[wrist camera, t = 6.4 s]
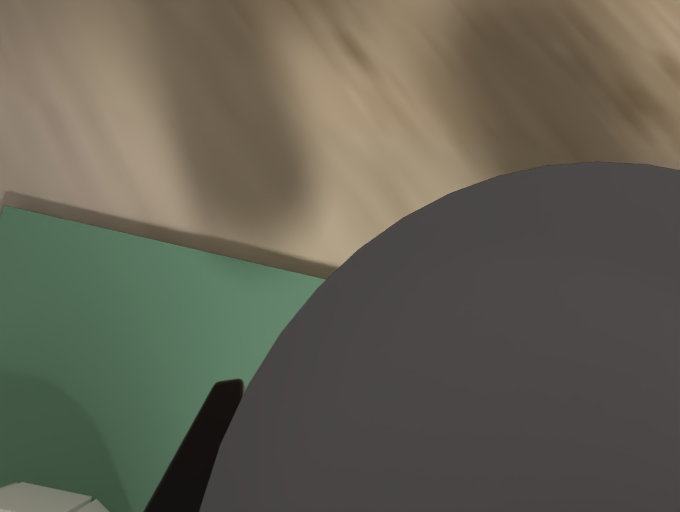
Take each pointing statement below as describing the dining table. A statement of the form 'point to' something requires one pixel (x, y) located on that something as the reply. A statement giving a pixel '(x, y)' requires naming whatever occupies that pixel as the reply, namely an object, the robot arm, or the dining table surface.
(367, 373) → the golf ball tube
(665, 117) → the dining table surface
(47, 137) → the dining table surface
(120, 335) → the putting green
